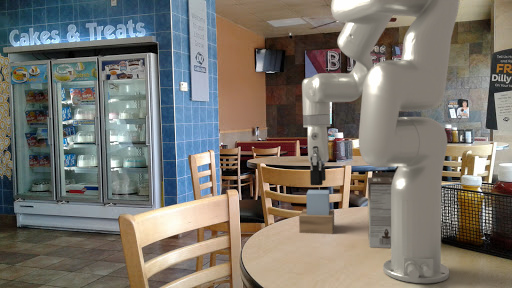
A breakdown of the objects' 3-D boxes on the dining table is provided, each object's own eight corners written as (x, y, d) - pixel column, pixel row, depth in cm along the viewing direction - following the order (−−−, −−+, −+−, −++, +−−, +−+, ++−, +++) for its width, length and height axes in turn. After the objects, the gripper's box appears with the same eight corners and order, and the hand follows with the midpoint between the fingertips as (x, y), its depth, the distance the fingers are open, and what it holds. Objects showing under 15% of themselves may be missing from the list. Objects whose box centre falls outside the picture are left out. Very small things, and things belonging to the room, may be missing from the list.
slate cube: (328, 215, 124) (328, 193, 124) (306, 214, 126) (306, 193, 125) (329, 210, 130) (329, 190, 130) (308, 210, 131) (308, 189, 131)
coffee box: (367, 237, 119) (367, 176, 118) (392, 238, 117) (392, 176, 116) (368, 247, 110) (368, 182, 109) (396, 248, 108) (396, 182, 107)
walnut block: (332, 235, 123) (332, 216, 122) (299, 233, 125) (299, 215, 125) (334, 226, 132) (334, 209, 131) (303, 225, 134) (303, 209, 133)
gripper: (327, 121, 117) (329, 187, 117) (332, 121, 134) (333, 179, 134) (298, 122, 119) (300, 187, 119) (307, 122, 135) (308, 179, 136)
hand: (318, 182), depth 127 cm, fingers open, 9 cm apart
